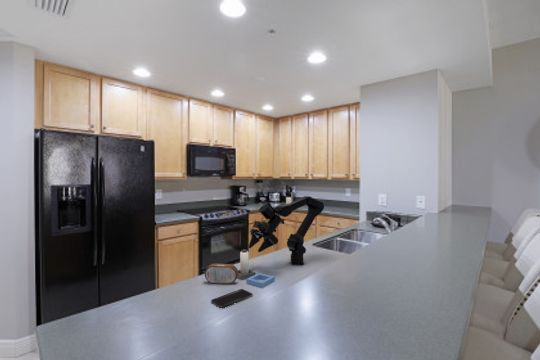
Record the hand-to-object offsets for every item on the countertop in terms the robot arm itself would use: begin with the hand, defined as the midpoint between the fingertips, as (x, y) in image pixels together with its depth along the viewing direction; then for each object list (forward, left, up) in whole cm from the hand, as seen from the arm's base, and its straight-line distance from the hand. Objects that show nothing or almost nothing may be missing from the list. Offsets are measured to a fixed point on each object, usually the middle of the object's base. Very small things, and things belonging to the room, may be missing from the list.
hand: (253, 249), depth 127 cm
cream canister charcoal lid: (+4, +3, -12) cm, 13 cm away
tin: (+13, +12, -12) cm, 21 cm away
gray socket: (+4, +3, -12) cm, 13 cm away
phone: (+6, +28, -12) cm, 31 cm away
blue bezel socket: (-4, +11, -12) cm, 17 cm away
